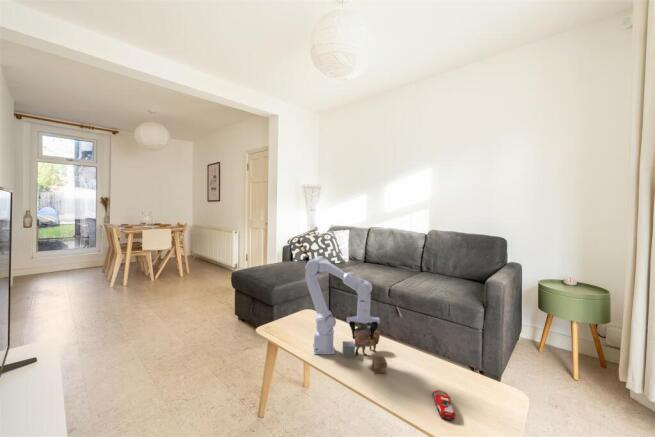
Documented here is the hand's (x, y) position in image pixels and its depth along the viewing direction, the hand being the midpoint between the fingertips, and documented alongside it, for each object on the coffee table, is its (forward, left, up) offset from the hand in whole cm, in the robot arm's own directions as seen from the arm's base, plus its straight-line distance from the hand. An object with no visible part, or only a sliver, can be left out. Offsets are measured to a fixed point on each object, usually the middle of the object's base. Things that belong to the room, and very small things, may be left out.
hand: (362, 338), depth 128 cm
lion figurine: (+4, +7, -10) cm, 13 cm away
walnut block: (+6, -9, -10) cm, 14 cm away
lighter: (0, 0, -3) cm, 3 cm away
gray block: (-5, +4, -10) cm, 12 cm away
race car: (+24, -30, -10) cm, 40 cm away
